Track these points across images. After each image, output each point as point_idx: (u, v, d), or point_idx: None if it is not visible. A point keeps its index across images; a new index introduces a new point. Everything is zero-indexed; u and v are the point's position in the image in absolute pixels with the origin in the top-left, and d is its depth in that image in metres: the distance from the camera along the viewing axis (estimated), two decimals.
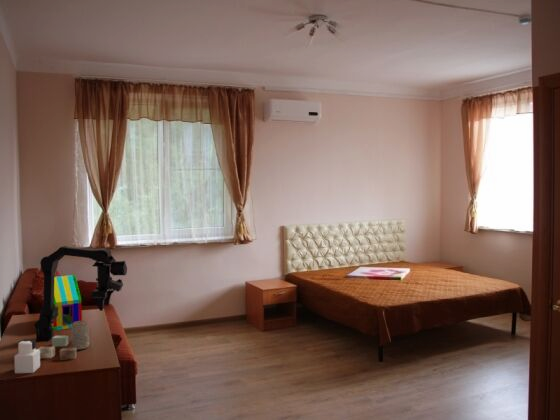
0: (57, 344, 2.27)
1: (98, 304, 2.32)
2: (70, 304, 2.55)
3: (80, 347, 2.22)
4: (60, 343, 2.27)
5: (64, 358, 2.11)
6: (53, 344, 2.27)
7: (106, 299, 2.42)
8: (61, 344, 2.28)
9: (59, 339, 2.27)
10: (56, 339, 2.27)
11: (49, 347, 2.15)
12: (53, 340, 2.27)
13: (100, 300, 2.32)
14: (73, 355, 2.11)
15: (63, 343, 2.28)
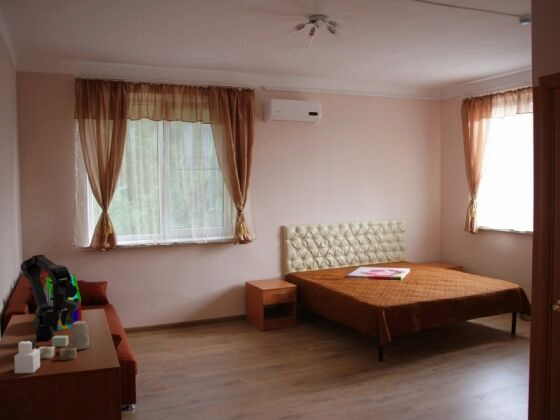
0: (57, 344, 2.27)
1: (52, 325, 2.23)
2: None
3: (80, 347, 2.22)
4: (60, 343, 2.27)
5: (64, 358, 2.11)
6: (53, 344, 2.27)
7: (62, 318, 2.33)
8: (61, 344, 2.28)
9: (59, 339, 2.27)
10: (56, 339, 2.27)
11: (49, 347, 2.15)
12: (53, 340, 2.27)
13: (54, 321, 2.23)
14: (73, 355, 2.11)
15: (63, 343, 2.28)
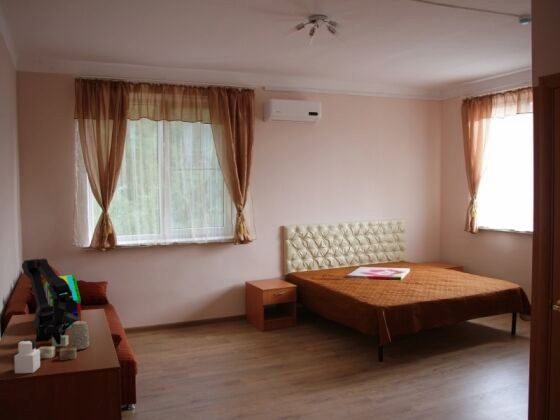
0: (57, 344, 2.27)
1: (55, 338, 2.26)
2: None
3: (80, 347, 2.22)
4: (60, 343, 2.27)
5: (64, 358, 2.11)
6: (53, 344, 2.27)
7: None
8: (61, 344, 2.28)
9: None
10: None
11: (49, 347, 2.15)
12: (53, 340, 2.27)
13: (57, 334, 2.26)
14: (73, 355, 2.11)
15: (63, 343, 2.28)
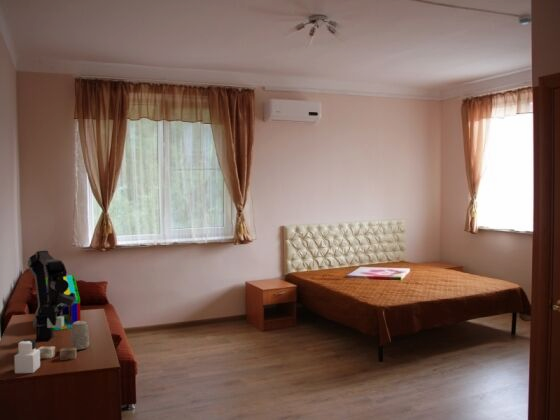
0: (52, 325, 2.21)
1: (50, 319, 2.20)
2: None
3: (80, 347, 2.22)
4: None
5: (65, 358, 2.11)
6: (48, 325, 2.21)
7: None
8: (57, 325, 2.22)
9: None
10: None
11: (49, 347, 2.15)
12: (48, 321, 2.21)
13: (52, 314, 2.20)
14: (73, 355, 2.11)
15: (58, 324, 2.22)
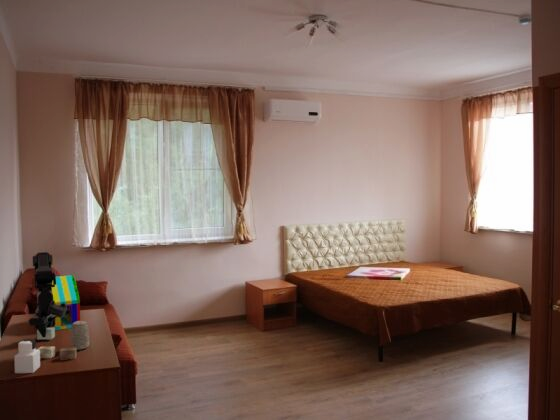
0: None
1: (40, 330, 2.11)
2: (68, 304, 2.54)
3: (80, 347, 2.22)
4: None
5: (65, 358, 2.11)
6: (38, 337, 2.12)
7: (46, 327, 2.16)
8: (47, 336, 2.12)
9: None
10: None
11: (49, 347, 2.15)
12: (38, 332, 2.12)
13: (42, 326, 2.10)
14: (73, 355, 2.11)
15: (48, 335, 2.12)
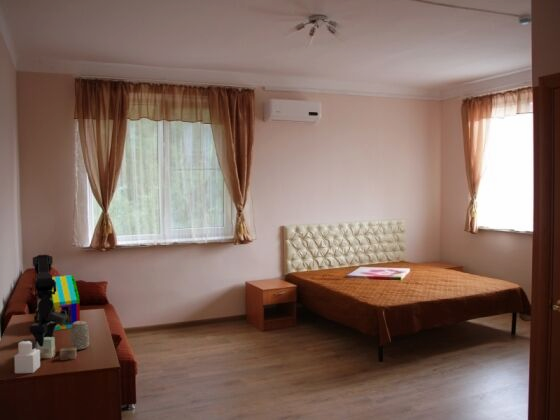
0: (42, 346, 2.12)
1: (37, 339, 2.08)
2: (68, 304, 2.54)
3: (80, 347, 2.22)
4: (45, 345, 2.12)
5: (65, 359, 2.11)
6: (38, 346, 2.12)
7: (49, 332, 2.18)
8: (46, 346, 2.12)
9: (44, 341, 2.12)
10: None
11: None
12: None
13: (40, 335, 2.08)
14: (73, 355, 2.11)
15: (48, 345, 2.12)
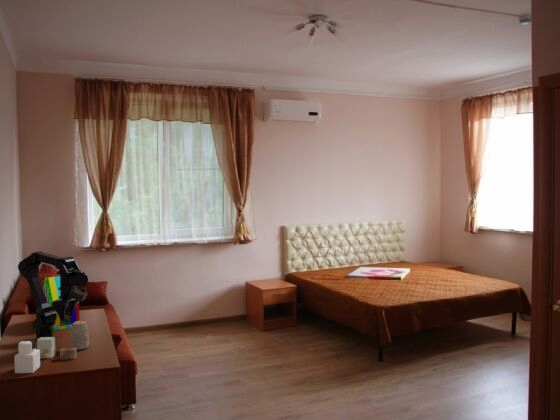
0: (42, 346, 2.12)
1: (59, 314, 2.25)
2: None
3: (80, 347, 2.22)
4: (46, 345, 2.12)
5: (65, 358, 2.11)
6: (38, 346, 2.12)
7: (70, 308, 2.35)
8: (47, 346, 2.12)
9: (45, 341, 2.12)
10: (41, 341, 2.12)
11: None
12: (38, 342, 2.12)
13: (61, 310, 2.25)
14: (73, 355, 2.11)
15: (48, 345, 2.12)
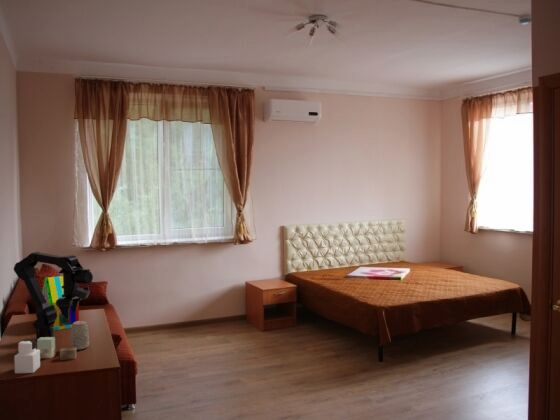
0: (42, 346, 2.12)
1: (63, 312, 2.28)
2: None
3: (80, 347, 2.22)
4: (46, 345, 2.12)
5: (65, 359, 2.11)
6: (38, 346, 2.12)
7: (73, 307, 2.38)
8: (47, 346, 2.12)
9: (45, 341, 2.12)
10: (41, 341, 2.12)
11: None
12: (38, 342, 2.12)
13: (65, 308, 2.28)
14: (73, 355, 2.11)
15: (48, 345, 2.12)
